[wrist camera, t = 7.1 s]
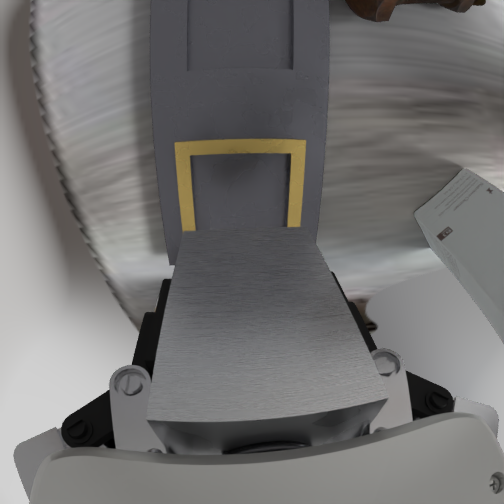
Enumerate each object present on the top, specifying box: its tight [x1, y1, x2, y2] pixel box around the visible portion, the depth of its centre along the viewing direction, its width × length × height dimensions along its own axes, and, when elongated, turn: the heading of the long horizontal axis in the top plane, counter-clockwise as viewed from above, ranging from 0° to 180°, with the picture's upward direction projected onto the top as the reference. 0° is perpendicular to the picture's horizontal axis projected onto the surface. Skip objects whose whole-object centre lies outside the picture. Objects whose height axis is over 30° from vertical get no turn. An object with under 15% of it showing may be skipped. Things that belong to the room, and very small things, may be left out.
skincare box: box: [414, 168, 504, 343], centre depth 19 cm, size 8×6×15 cm
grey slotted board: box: [150, 0, 329, 265], centre depth 19 cm, size 12×24×2 cm, turn 0°
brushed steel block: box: [146, 227, 389, 455], centre depth 10 cm, size 5×5×8 cm
